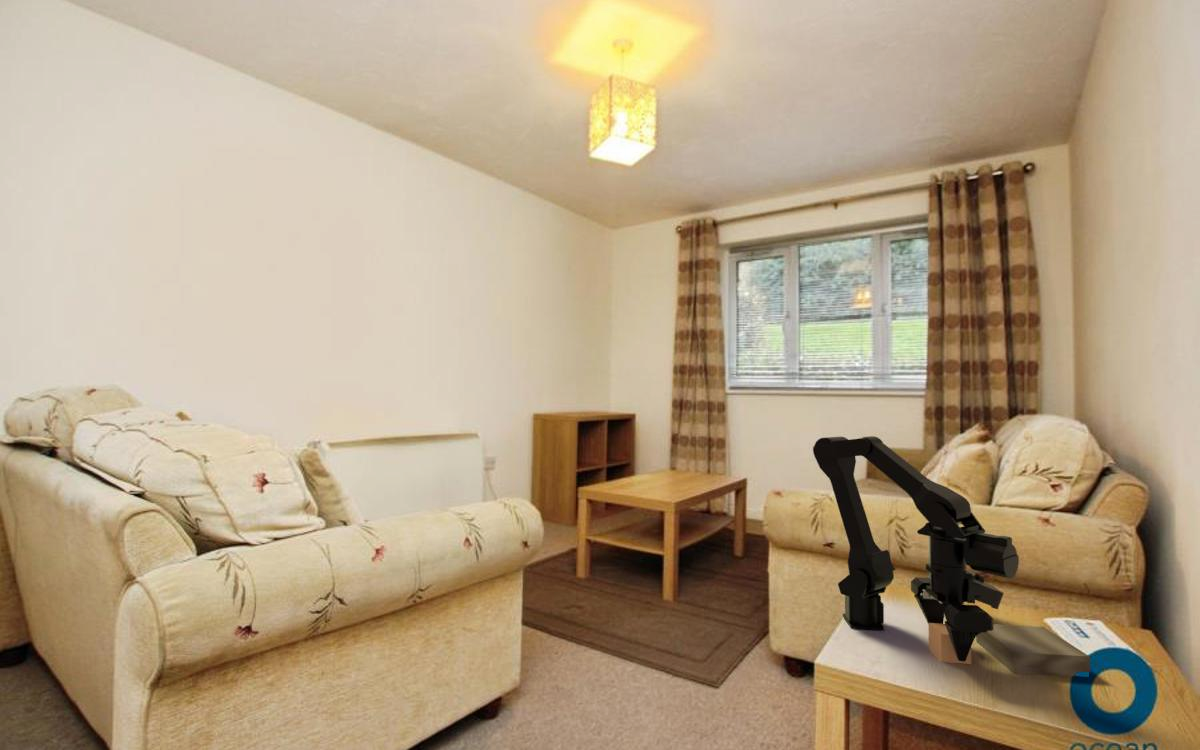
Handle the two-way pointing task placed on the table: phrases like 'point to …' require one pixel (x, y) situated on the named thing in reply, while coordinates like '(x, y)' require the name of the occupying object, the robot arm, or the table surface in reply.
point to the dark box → (1033, 651)
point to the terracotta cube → (943, 644)
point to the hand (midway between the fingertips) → (949, 648)
